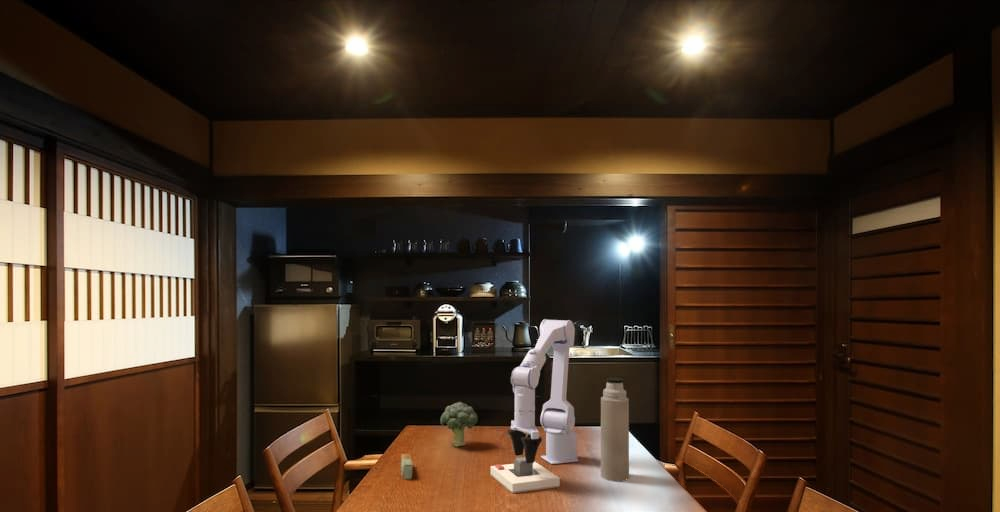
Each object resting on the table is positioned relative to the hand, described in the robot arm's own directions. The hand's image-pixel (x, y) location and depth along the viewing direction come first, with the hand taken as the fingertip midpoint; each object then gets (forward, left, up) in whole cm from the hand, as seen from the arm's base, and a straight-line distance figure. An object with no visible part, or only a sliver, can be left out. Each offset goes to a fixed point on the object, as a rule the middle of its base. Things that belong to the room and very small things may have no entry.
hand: (524, 458), depth 159 cm
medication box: (+29, -18, -6) cm, 35 cm away
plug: (0, 0, -6) cm, 6 cm away
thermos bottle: (-26, +6, -6) cm, 27 cm away
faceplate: (0, 0, -6) cm, 6 cm away
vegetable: (+6, -40, -6) cm, 41 cm away
